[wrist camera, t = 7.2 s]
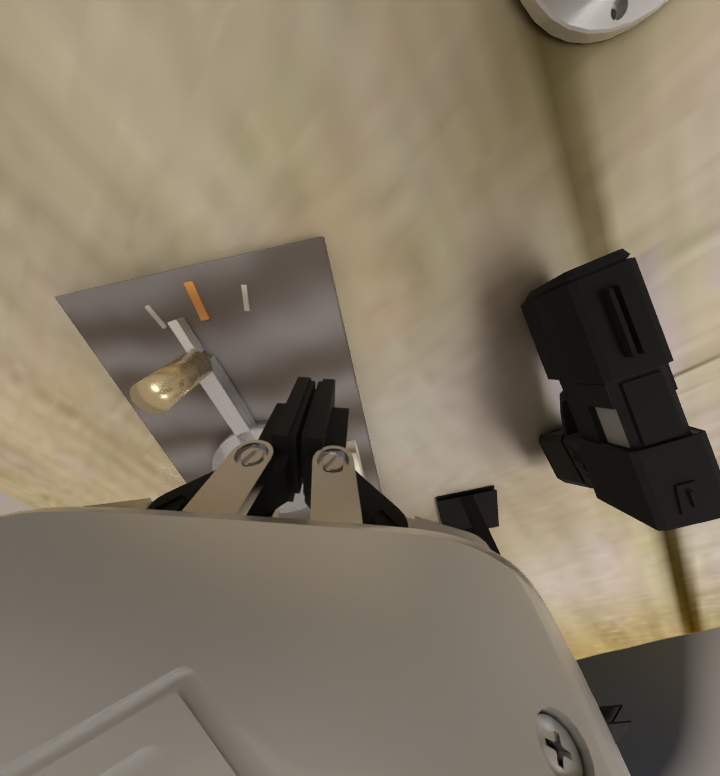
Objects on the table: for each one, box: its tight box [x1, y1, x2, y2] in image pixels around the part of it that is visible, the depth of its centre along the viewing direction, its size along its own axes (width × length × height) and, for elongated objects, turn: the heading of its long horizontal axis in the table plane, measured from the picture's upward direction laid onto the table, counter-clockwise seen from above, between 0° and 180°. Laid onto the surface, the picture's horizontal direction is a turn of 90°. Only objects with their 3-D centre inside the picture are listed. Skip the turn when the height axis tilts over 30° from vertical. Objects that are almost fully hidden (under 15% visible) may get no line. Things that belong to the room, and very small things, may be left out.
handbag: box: [436, 485, 631, 744], centre depth 23 cm, size 10×8×30 cm
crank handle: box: [130, 317, 307, 513], centre depth 24 cm, size 23×12×7 cm, turn 18°
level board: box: [55, 236, 381, 520], centre depth 27 cm, size 32×22×4 cm
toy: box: [521, 249, 720, 531], centre depth 23 cm, size 5×20×15 cm, turn 24°
